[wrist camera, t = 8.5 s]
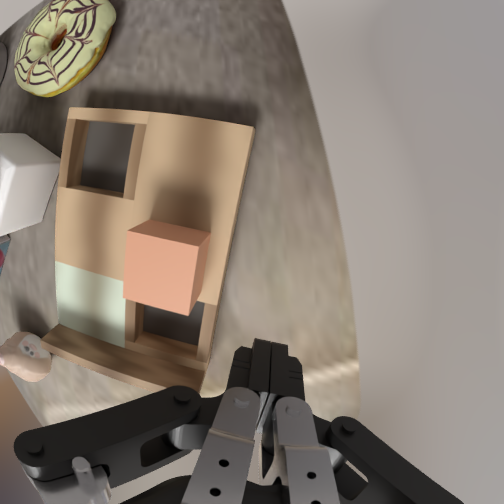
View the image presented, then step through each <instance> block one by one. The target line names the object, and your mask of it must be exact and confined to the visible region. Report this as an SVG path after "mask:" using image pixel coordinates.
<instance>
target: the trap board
mask: <svg viewBox="0 0 504 504" xmlns="http://www.w3.org/2000/svg"><path fill="white" fill-rule="evenodd" d="M254 135H255V129H254V127H251V126H246V125H240V124H235V123H229V122H223V121H217V120H211V119H204V118H198V117H190V116H183V115H175V114H166V113H157V112H147V111H135V110H122V109H105V108H75V107H70V108H69V113H68V118H67V123H66V129H65V135H64V141H63V147H62V154H61V162H60V170H59V180H58V191H57V204H56V224H55V277H56V296H57V310H58V321H59V324H58V325H57V326H55V327H54V328H53V329H52V330H51V331H50V332H48V333H47V334H46V335H45V336H44V337H43V338H42V339H40V342H41V348H42V349H45V350H47V351H49V352H51V353H53V354H55V355H57V356H60V357H62V358H64V359H66V360H69V361H71V362H73V363H76V364H78V365H80V366H83V367H85V368H88V369H90V370H93V371H95V372H98V373H100V374H103V375H106V376H108V377H111V378H114V379H116V380H119V381H122V382H125V383H128V384H131V385H134V386H137V387H140V388H143V389H146V390H149V391H152V392H158V391H160V390H163V389H166V388H169V387H171V386H176V385H181V386H187V387H190V388H192V389H194V390H195V391H197V392H198V393H200V390H201V387H202V384H203V381H204V377H205V374H206V371H207V368H208V365H209V360H210V354H211V349H212V343H213V338H214V332H215V327H216V322H217V316H218V311H219V306H220V301H221V295H222V290H223V285H224V280H225V275H226V270H227V265H228V260H229V254H230V249H231V244H232V240H233V235H234V230H235V225H236V220H237V215H238V210H239V205H240V200H241V196H242V191H243V186H244V181H245V177H246V172H247V167H248V163H249V158H250V153H251V149H252V144H253V140H254ZM149 219H150V220H154V221H159V222H164V223H169V224H173V225H178V226H183V227H187V228H192V229H197V230H201V231H206V232H210V233H211V236H210V242H209V247H208V253H207V259H206V265H205V271H204V277H203V283H202V289H201V294H200V295H199V297H198V299H197V301H196V303H195V305H194V307H193V308H192V310H191V312H190V314H189V316H187V315H183V314H179V313H175V312H171V311H167V310H164V309H160V308H156V307H153V306H149V305H145V304H142V303H138V302H135V301H131V300H128V299H125V298H123V281H124V264H125V250H126V238H127V230H129V229H131V228H133V227H135V226H137V225H139V224H141V223H143V222H145V221H147V220H149Z"/></svg>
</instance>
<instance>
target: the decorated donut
mask: <svg viewBox="0 0 504 504" xmlns="http://www.w3.org/2000/svg"><path fill="white" fill-rule="evenodd" d="M115 20H116V12H115V9H114V7H113V6H112V4H111V3H110V2H109V1H108V0H53V1H51V2H50V3H49V4H48V5H47V6H45V7H44V8H43V9H41V10H40V11H39V12H38V13H37V15H36V16H35V17H34V19H33V20H32V22H31V23H30V24H29V26H28V27H27V28H26V30H25V31H24V33H23V36H22V38H21V40H20V43H19V46H18V48H17V51H16V54H15V61H14V62H15V67H14V70H15V76H16V81H17V83H18V84H19V85H20V87H21V88H22V89H24V90H26V91H28V92H30V93H32V94H33V95H36V96H43V97H53V96H55V95H57V94H59V93H62V92H65V91H67V90H69V89H71V88H73V87H74V86H75V85H77V84H78V83H79V82H80V81H82V80H83V79H84V78H85V77H86V76H87V75H88V74H89V73H90V72H91V71H92V70H93V69H94V68H95V66H96V65H97V63H98V62H99V61H100V59H101V58H102V56H103V54H104V52H105V50H106V47H107V43H108V40H109V37H110V34H111V30H112V25H113V24H114V23H115ZM64 36H65V37H64ZM63 37H64V39H63ZM62 39H63V41H62ZM61 41H62V43H61V45H60V46H59V44H60V42H61ZM58 46H59V47H58Z"/></svg>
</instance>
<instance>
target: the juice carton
mask: <svg viewBox="0 0 504 504" xmlns="http://www.w3.org/2000/svg"><path fill="white" fill-rule="evenodd" d="M10 240H11V239H10V238H9V237H8V236H7V235H3V236H0V275H1V271H2V267H3V263H4V260H5V256H6V253H7V250H8V246H9V243H10Z"/></svg>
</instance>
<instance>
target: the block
mask: <svg viewBox="0 0 504 504" xmlns="http://www.w3.org/2000/svg"><path fill="white" fill-rule="evenodd" d="M210 236H211V233H210V232H206V231H201V230H197V229H192V228H187V227H183V226H178V225H173V224H169V223H164V222H159V221H154V220H150V219H149V220H147V221H145V222H143V223H141V224H139V225H137V226H135V227H133V228H131V229H129V230H127V238H126V250H125V264H124V281H123V298H125V299H128V300H131V301H135V302H138V303H142V304H145V305H149V306H153V307H156V308H160V309H164V310H167V311H171V312H175V313H179V314H183V315H187V316H189V314H190V312H191V310H192V308H193V307H194V305H195V303H196V301H197V299H198V297H199V295H200V294H201V289H202V283H203V277H204V271H205V265H206V259H207V253H208V247H209V242H210Z"/></svg>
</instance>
